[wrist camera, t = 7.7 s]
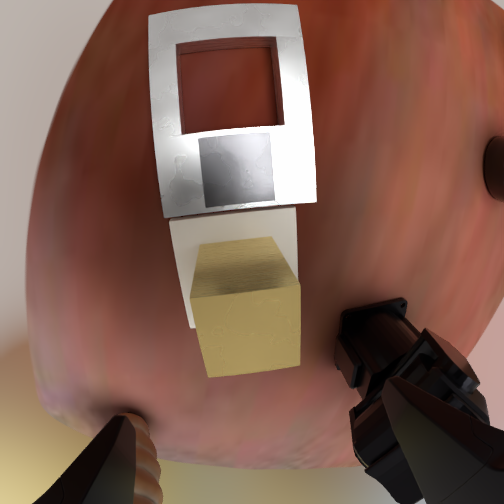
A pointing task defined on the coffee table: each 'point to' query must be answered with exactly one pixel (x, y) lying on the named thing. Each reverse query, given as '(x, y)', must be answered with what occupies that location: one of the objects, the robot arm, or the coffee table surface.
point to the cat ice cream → (145, 465)
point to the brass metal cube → (246, 307)
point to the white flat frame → (231, 140)
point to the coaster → (230, 238)
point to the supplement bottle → (495, 168)
